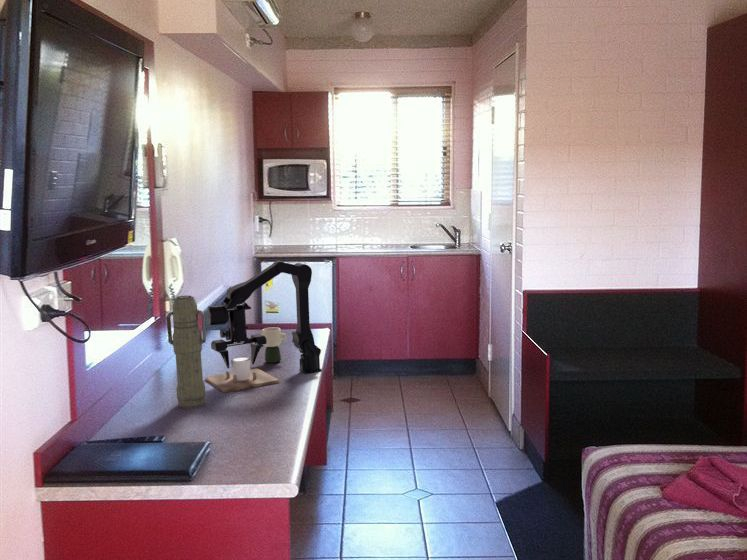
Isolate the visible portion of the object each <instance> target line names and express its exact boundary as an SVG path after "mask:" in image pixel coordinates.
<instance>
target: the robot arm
mask: <svg viewBox="0 0 747 560" xmlns="http://www.w3.org/2000/svg"><path fill="white" fill-rule="evenodd" d="M312 270H313V269H312V268H311V266H309V265H308V264H307V263H305V264H304V263H301V262H297V263H288V262H285V261H281V260H275V261H274V262H273V263H272V264H270V265H269V266H267V267H266V268H264V269H262V270H261V271H260V272H258V273H257V274H255V275H254V276H252V277H251V278H249V279H248V280H246V281H243V282H240V283H238V284H237V283H236V284H235V285H233V286H230V287H229V288H228V289H227V290H226V293H225V297H224V299H223V301H222V302H221V303H220V305H216V306H213V305H210V306H209V305H208V306H207V311H206V316H205V317H206V323H207V325H208V327H214V326H224V325H226V324H227V323H228V322H229V325H228V329H227V328H226V327H225V328H220V329H219V335H220V339H217V340H215V339H214V340H212V341H211V343H210V347H211V348H210V349H211V350H214V352H217V353H219V354H220V356H221V358H222V359H223V362H224V365H225V366H226V369H230V357H229V356H230V355H229V350H227V349H228V347H234V346H241V345H247V344H248V345H249V346H250V349H251V351H250V352H251V353H250V356H251V357H250V363H251V365H255V363H256V359H257V356H258V355H259V352H260V350H261V349H262V348H263V347H264V345H263V344H267V339H266V337H265V336H264V335H261V334H262V333H257V334H251V335H250V337H248V334H247V333H248V332H247V331H248V325H247V315H246V314H247V313H246V311H247V310H251V309H252V307H251V306H250V305H248V303H247V302H246V301H247V300H248V299H249V298H250V297H251V296H252V294H253V293H254V292H255V291H256V290H258V289H259V288H260V287H263V286H264V285H265V284H267V283H269V282H270V281H271V280H273V279H274V278H276V277H277V276H279V275H281V274H282V273H283V274H288V275H291V280H292V283H293V285H294V287H295V298H296V299H295V300H296V301H295V304H296V307H295V308H296V328H295V329H296V330H295V331H291V336H292V340H291V342H292V343H293V345H294V347H295V348H296V349H298V351H299V353H300V358H299V371H300V372H303V373H305V374H312V373H316V372H317V373H318V372H321V371H323V368H321V362H320V361H321V360H320V356H321V353H322V349H320V347H318V346H317V345H316V344H315V339H314V335H313V332H312V329H311V325H310V324H311V323H310V302H309V301H310V300H309V299H310V297H309V288H310V285H311V283H312V275H313V271H312ZM224 338H225V340H224Z"/></svg>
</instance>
